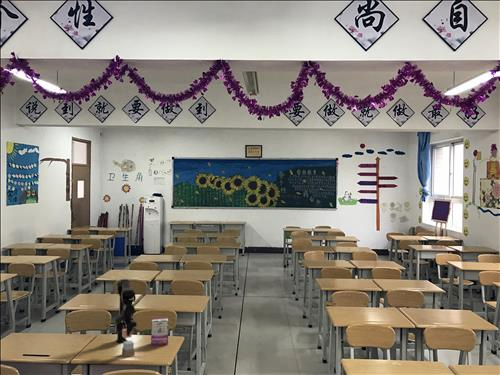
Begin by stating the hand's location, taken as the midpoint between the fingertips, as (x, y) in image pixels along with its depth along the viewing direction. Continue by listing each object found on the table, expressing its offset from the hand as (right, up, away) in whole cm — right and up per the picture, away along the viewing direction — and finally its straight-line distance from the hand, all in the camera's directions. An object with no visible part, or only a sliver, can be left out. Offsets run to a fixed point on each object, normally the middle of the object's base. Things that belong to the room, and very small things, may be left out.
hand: (126, 334), depth 275 cm
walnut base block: (+1, -13, 0) cm, 13 cm away
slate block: (+1, -9, 0) cm, 9 cm away
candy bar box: (+16, -13, +21) cm, 29 cm away
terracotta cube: (0, -1, 0) cm, 1 cm away
